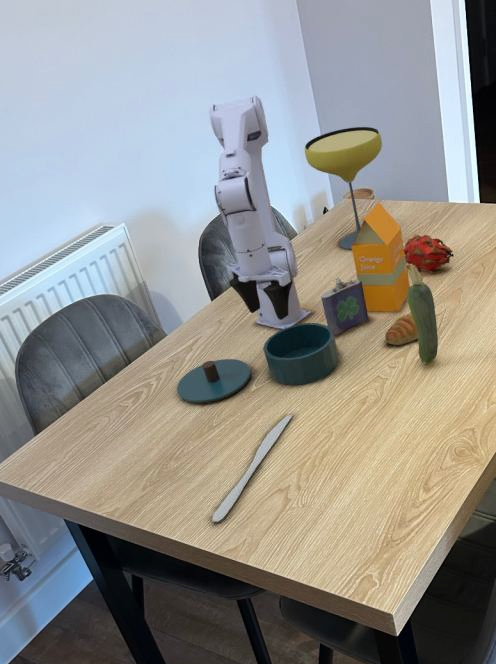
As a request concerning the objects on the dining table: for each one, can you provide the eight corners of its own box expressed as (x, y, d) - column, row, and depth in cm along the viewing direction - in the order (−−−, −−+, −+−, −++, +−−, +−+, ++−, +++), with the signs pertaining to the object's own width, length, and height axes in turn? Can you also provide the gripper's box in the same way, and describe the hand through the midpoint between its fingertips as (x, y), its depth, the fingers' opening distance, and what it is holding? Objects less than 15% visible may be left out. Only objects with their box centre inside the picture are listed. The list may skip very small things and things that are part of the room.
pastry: (401, 351, 142) (398, 333, 140) (377, 341, 147) (374, 324, 145) (436, 329, 146) (434, 312, 144) (412, 321, 151) (410, 304, 149)
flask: (333, 338, 151) (322, 290, 145) (326, 334, 153) (314, 286, 147) (371, 321, 154) (362, 272, 148) (364, 316, 156) (354, 268, 150)
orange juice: (363, 311, 158) (345, 220, 147) (377, 291, 165) (361, 202, 153) (398, 311, 155) (382, 218, 144) (411, 291, 161) (397, 200, 150)
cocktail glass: (311, 248, 192) (288, 149, 177) (361, 221, 200) (343, 124, 186) (360, 261, 180) (339, 155, 165) (411, 231, 188) (396, 128, 174)
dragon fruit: (404, 272, 174) (453, 282, 169) (390, 265, 166) (441, 275, 161) (414, 235, 172) (463, 244, 168) (400, 226, 165) (451, 236, 160)
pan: (256, 376, 145) (249, 351, 142) (302, 342, 152) (295, 318, 149) (307, 391, 137) (300, 365, 134) (353, 354, 144) (347, 329, 141)
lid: (163, 395, 146) (156, 375, 143) (217, 358, 154) (210, 338, 151) (212, 412, 137) (205, 392, 135) (266, 372, 145) (260, 352, 143)
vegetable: (445, 359, 137) (431, 256, 125) (439, 372, 134) (424, 268, 122) (421, 359, 138) (405, 257, 127) (415, 372, 135) (398, 269, 124)
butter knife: (203, 518, 112) (220, 520, 111) (281, 414, 132) (296, 414, 130) (205, 521, 113) (221, 523, 111) (282, 417, 132) (297, 417, 131)
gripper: (207, 250, 136) (228, 317, 144) (262, 260, 127) (282, 330, 135) (235, 234, 140) (254, 300, 148) (290, 243, 131) (307, 312, 139)
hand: (269, 313), depth 142 cm, fingers open, 7 cm apart
